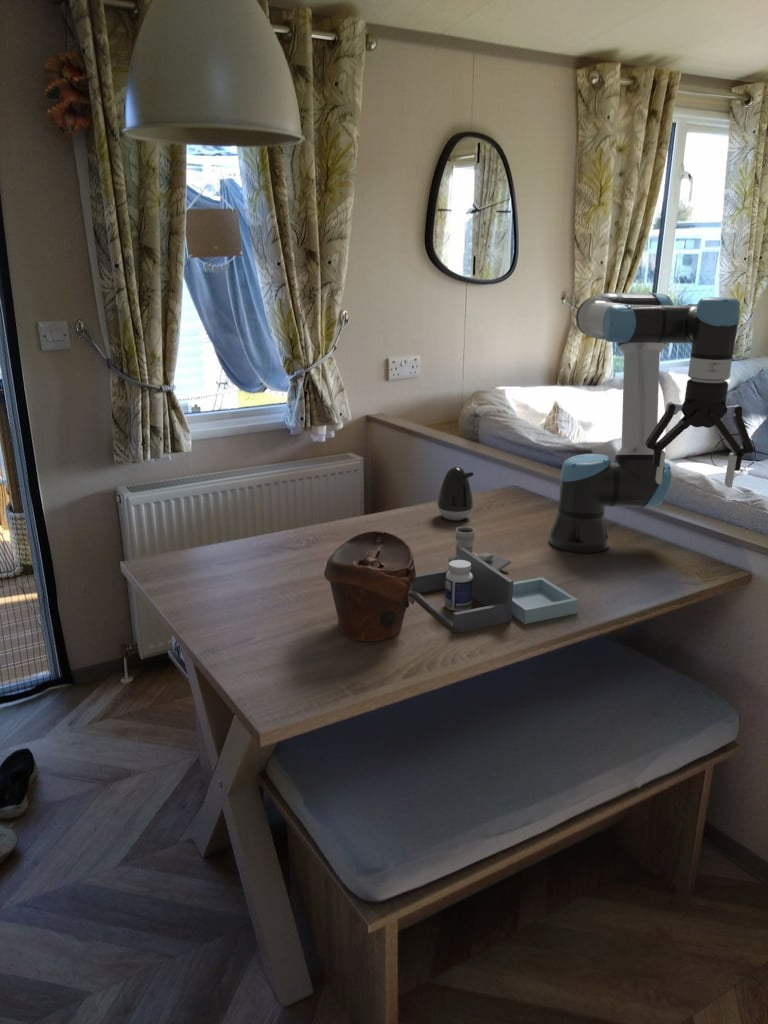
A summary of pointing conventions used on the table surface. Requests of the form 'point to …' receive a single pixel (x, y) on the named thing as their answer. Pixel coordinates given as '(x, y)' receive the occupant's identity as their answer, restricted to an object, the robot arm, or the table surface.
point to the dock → (486, 589)
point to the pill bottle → (459, 586)
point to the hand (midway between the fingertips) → (692, 484)
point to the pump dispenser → (455, 495)
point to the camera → (466, 541)
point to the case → (371, 585)
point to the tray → (541, 601)
